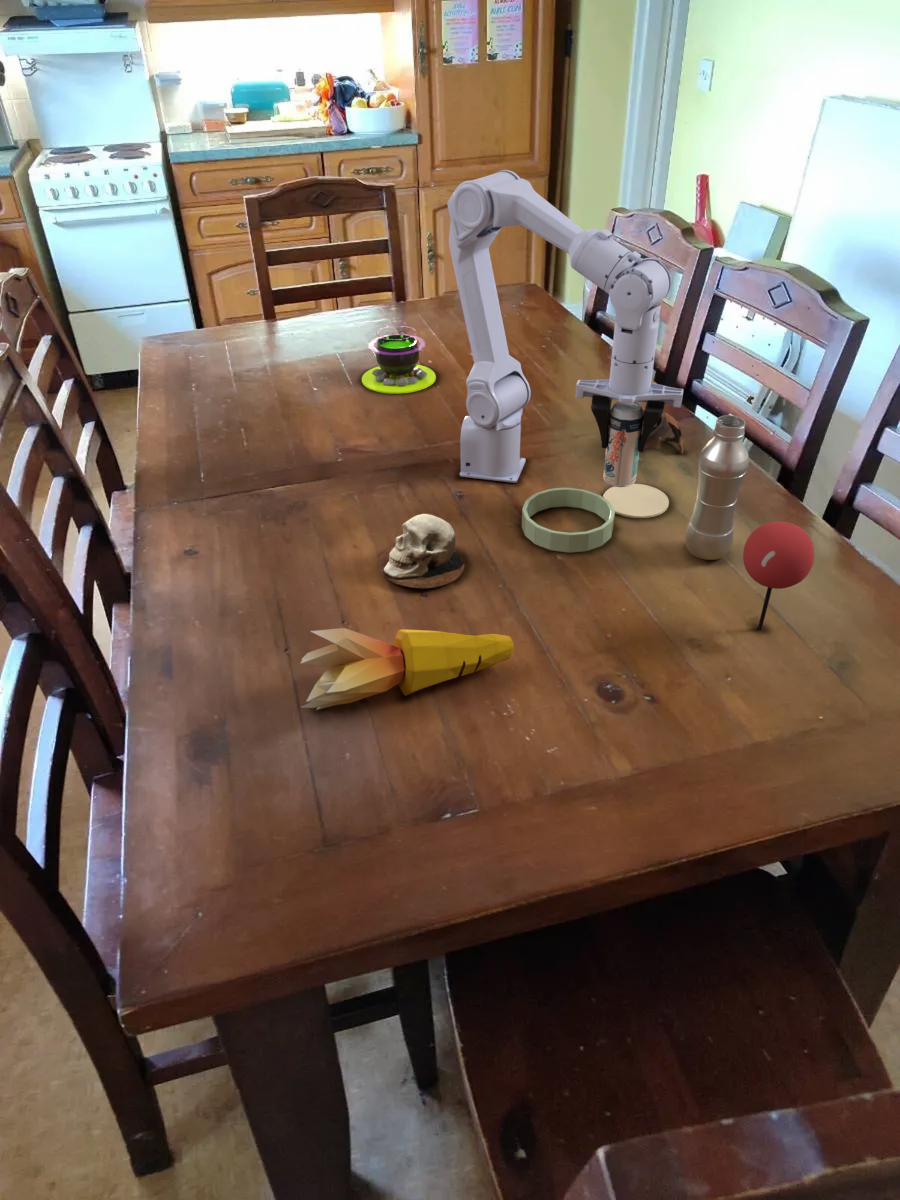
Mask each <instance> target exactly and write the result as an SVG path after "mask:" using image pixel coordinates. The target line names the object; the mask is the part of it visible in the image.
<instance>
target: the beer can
mask: <svg viewBox="0 0 900 1200" xmlns="http://www.w3.org/2000/svg"><path fill="white" fill-rule="evenodd" d="M643 409H644V408H643V406H642V405H641V402H637V401H634V402H633V403H622V402H619V400H617V401H615V403H613V405H612V406H611V410H610V415H609V425H608V439H607V448H605V456H604V465H603V466H604V467H603V478H602V479H603V480H604V482H605V483H606V484H609V485H610V486H611V487H614V486H615V487H626V486H629V485H632V484H635V482H636V480H637V474H638V467H639V459H640V452H639V445H640V441H641V436H642V430H643V421H644V411H643Z"/></svg>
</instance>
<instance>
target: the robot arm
mask: <svg viewBox="0 0 900 1200" xmlns="http://www.w3.org/2000/svg"><path fill="white" fill-rule="evenodd" d="M446 204H447V209H448V215H449V218H450V225H449V233H448V248H449V252H450V258H451V261H452V262H451V263H452V266H453V271H454V276H455V280H456V285H457V290H458V295H459V298H460V304H461V308H462V313H463V318H464V322H465V327H466V328H465V329H466V332H467V336H468V341H469V342H468V343H469V346H470V351H471V355H472V360H473V365H472V366H471V367H472V368H471V370H470V371H469V374H468V376H467V378H466V381H465V385H466V390H467V395H466V401H465V406H466V412H467V413H468V415H466V416H465V417H464V419H463V421H462V424H461V429H460V440H459V441H460V442H459V443H460V446H459V447H460V472H459V477H462V478H470V479H479V480H485V481H496V482H502V483H503V482H504V483H512V484H515V483H517V482H518V480H519V478H520V475H521V473H522V471H523V468H524V467H525V464H526V461H527V460H526V458H525V457H521V437H522V435H521V434H522V433H521V431H522V416H523V411H524V410H523V408H525V407H526V406H527V405H528V403H529V402H530V399H531V395H532V391H531V387H530V384H529V382H528V380H527V378H526V376H525V375H524V372H523V370H522V365H521V362H520V361H519V360H517V359H516V358H514V357H513V356H511V355H510V351H509V347H508V342H507V336H506V331H505V327H504V320H503V317H502V311H501V306H500V301H499V295H498V291H497V285H496V280H495V279H496V278H495V274H494V269H493V264H492V259H491V253H490V247H491V245H492V244H493V242H494V241H495V239H496V237H497V236H498V235H499V233H500V231H501V230H502V229H503V228H504V227H513V226H522V227H524V228H526V229H527V230H528V231H530V232H532V233H533V234H535V235H537V236H539V237H540V238H542V239H544V240H545V241H547V242H548V243H550V244H551V245H553V246H555V247H556V248H558V249H560V250H561V251H563V252H565V253H566V254H568V258H569V263H570V267H571V269H573V270H574V271H576V272H577V273H578V274H580V275H581V276H582V277H584V278H585V279H586V280H589V281H590V283H592V284H593V285H595V286H596V287H598V288H599V289H601V290H602V291H604V292H605V293H606V294H608V295H609V300H610V303H611V305H612V307H613V309H614V311H615V312H614V313H615V317H614V318H615V319H614V327H613V329H614V330H613V339H612V350H611V359H610V360H611V361H610V368H609V369H610V370H609V378H606V379H578V380H577V383H576V384H575V385H576V387H575V398H576V399H584V398H591V403H590V410H591V413H592V415H593V417H594V419H595V422H596V424H597V427H598V431H599V434H600V443H601V448H602V449H606V448H607V439H608V425H609V415H610V410H611V409H612V403H613V402H612V401H613V400H615V401H616V400H617V401H619V402H622V403H633V402H634V401H635V402H637V403H645V407H644V409H645V411H644V420H643V428H642V436H641V441H640V445H639V453H645V450H644V448H645V444H646V442H647V439H648V437H649V435H650V433H651V431H652V429H653V428H654V426H655V424H656V423H657V421H658V420H659V419H660V417H661V415H662V414H663V411H664V410H665V405H669V406H672V407H673V408H682V402H683V397H684V396H683V395H684V388H677V387H673V386H672V387H671V386H667V385H663V384H658V383H654V382H652V379H653V373H654V364H655V358H656V350H657V341H658V334H659V326H660V316H661V309H662V304H661V302H662V301H663V300H664V299H665V298H666V297H668V295H669V293H670V290H671V288H672V287H671V286H672V277H671V274H670V272H669V270H668V268H667V267H666V266H665V264H663V263H662V261H661V260H660V259H658V258H656V257H646V258H642V255H641V253H639V252H638V251H637V250H635V251H633V252H632V251H631V250H630V249H628V248H626V246H623V245H622V244H621V243H620V242H618V241H617V240H615V239H613V238H612V236H613V232H611V231H610V230H609V229H608V228H603V229H599V228H595V227H594V228H591V229H588V230H584V229H583V228H581V227H580V226H579V225H578V224H576V223H575V222H574V221H573V220H571V219H570V218H569V217H568V216H567V215H565V214H564V213H562V211H560V210H559V209H558V208H557V207H555V206H554V205H553V204H552V203H550V202H549V201H548V200H546V199H545V198H544V197H543V196H542V195H540V194H539V193H538V192H536V190H535V189H534V188H533V186H532V183H531V182H530V181H529V180H527V179H525V178H523V177H520V176H519V175H518V174H517V173H516V172H514V171H513V170H509V169H503V170H502V169H501V170H498V171H497V172H495V173H492V174H489V175H485V176H482V177H479V178H476V179H471V180H465V181H463V182H461V183H459V185H457V187H456V188H455V190H454V191H453V193H452V194H451V196H450V197H449V199H448V201H447V203H446Z"/></svg>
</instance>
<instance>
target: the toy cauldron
mask: <svg viewBox="0 0 900 1200" xmlns="http://www.w3.org/2000/svg"><path fill="white" fill-rule="evenodd" d="M392 322H395V320H392ZM398 322H402V323H403V324H405V321H402V320H398ZM384 327H385V329H387V328H388V329H390V328H391V329H394V326H391V325H390V326H389V325H388V322H385V323H384ZM384 327H382V328H380V329H378V330H377V331H376V333H375V334H376V338H374V339H372V340H371V341H370V342H368V344H367V346H368V349H370V351H371V352H372V351H373V352H374V353H375V360H376V363H377V365H378V366H375V367H373V368H371V369H369V370H367V371H366V372H364V373H363V375H362V376H361V383H362V385H363V386H364V387H365V388H366V389H368V390H370V391H374V392H377V393H381V394H390V395H391V394H396V395H397V394H398V395H399V394H401V395H402V394H410V393H415V392H418V391H419V392H420V391H421V390H424V389H427V388H428V387H430V386H432V385H433V384H434V383H435V382H436V380H437V376H436V372H434V370H432V369H431V368H429V367H428V366H425V365H421V364H418V363H419V360H420V352H422V353H424V352H425V350H424V348H425V346H426V341H424V338H422V337H420V336H416V335H417V330H416V329H415V328H413V327H410V329H412V330H413V331H414V334H412V335H411V334H407V333H406V334H404V333H403V334H402V333H398V334H397V333H394V334H389V331H386V334H388V335H381V336H380V335H379V331H381V330H382V329H384ZM403 327H406V328H408V326H407V325H402V328H403ZM399 328H401V326H395V329H399ZM417 341H418V342H419V345H418V343H417ZM375 343H376V347H375Z"/></svg>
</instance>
